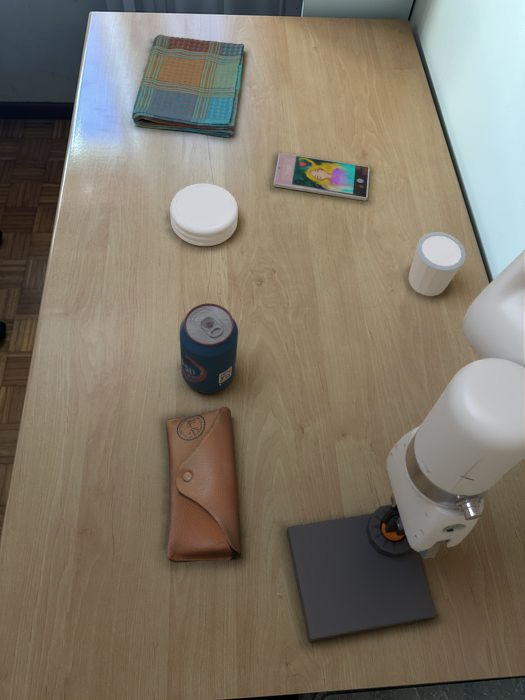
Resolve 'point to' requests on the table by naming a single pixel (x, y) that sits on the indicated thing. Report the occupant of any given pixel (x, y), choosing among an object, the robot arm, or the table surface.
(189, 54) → the dish towel
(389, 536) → the button
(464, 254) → the white cylinder
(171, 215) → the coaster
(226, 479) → the sunglasses case
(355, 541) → the scale
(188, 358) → the soda can
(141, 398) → the table surface
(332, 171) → the smartphone
